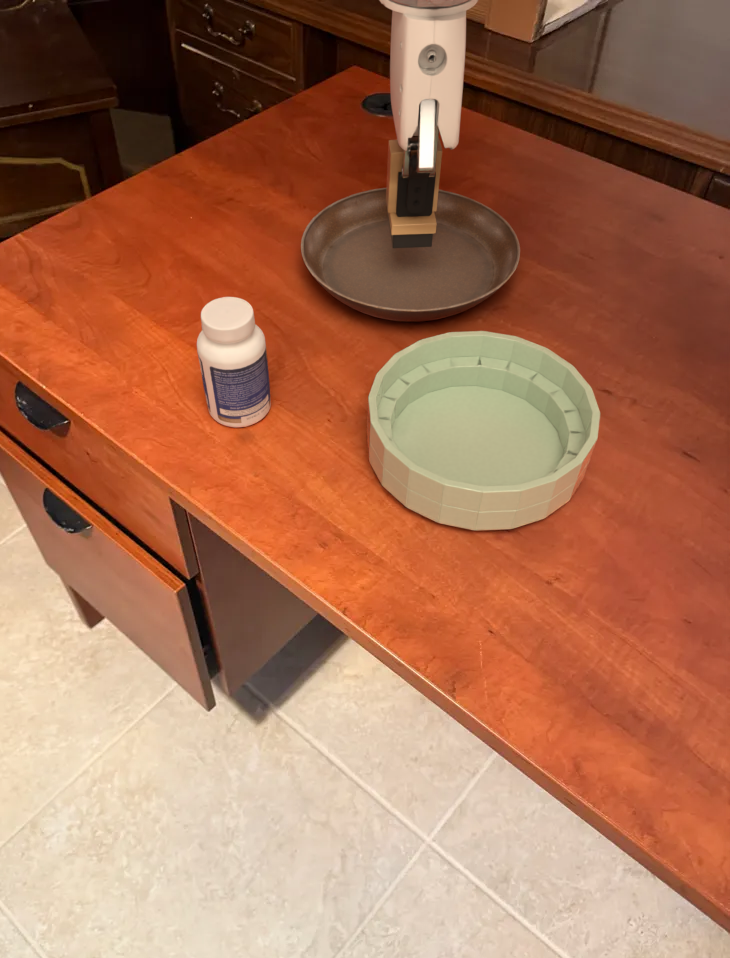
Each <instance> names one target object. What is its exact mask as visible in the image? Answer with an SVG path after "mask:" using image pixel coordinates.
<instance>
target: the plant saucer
mask: <svg viewBox="0 0 730 958" xmlns="http://www.w3.org/2000/svg"><path fill="white" fill-rule="evenodd" d="M386 188H387V187H381V188H374V189H373V188H372V189H368V190H365V191H360V192H356V193H353V194H351V195H348V196H345V197H342V198H341V199H338V200H336V201H334V202H333V203H331V204H329V205H327V206H326V207H324V208H323V209H322V210H321V211H319V212H318V213H317V214H316V215H315V216H313V217H312V219H311V220H310V221H309V223H308V224H307V225H306V227H305V229H304V231H303V233H302V236H301V240H300V241H301V242H300V252H301V257H302V259H303V263H304V264H305V266H306V268H307V270H308V271H309V273H310V274H311V276H313V278H314V280H315V281H316V282H317V283H318V284H319V286H321V288H323V289H324V290H325V291H326V292H327V293H328V294H329V295H331V296H332V297H334V298H335V299H336V300H338V301H339V302H341V303H342V304H343V305H346V306H347V307H349V308H351V309H353V310H355V311H357V312H360V313H363V314H366V315H369V316H372V317H375V318H379V319H383V320H389V321H395V322H426V321H435V320H440V319H444V318H448V317H451V316H455V315H457V314H461V313H463V312H466V311H467V310H471V309H472V308H474V307H476V306H477V305H479V304H481V303H482V302H484V301H485V300H487V299H488V298H490V297H491V296H493V295H494V294H495V293H496V292H498V291H499V290H500V289H501V288H502V287H503V286H504V285H505V284H506V283H507V282H508V281H509V280H510V278H511V277H512V276H513V275H514V273H515V272H516V269H517V268H518V265H519V261H520V259H521V258H520V256H521V247H520V246H521V245H520V241H519V238H518V236H517V234H516V232H515V230H514V229H513V228H512V225H510V223H509V222H508V221H507V220H506V219H505V218H504V217H503V216H502V215H501V214H500V213H498V212H497V211H495V210H494V209H492V208H491V207H489V206H488V205H485V204H483V203H481V202H480V201H478V200H475V199H473V198H470V197H468V196H465V195H462V194H459V193H456V192H453V191H448V190H443V189H439V190H438V200H437V210H436V211H434V214H435V218H436V223H437V225H436V233H434V234H433V239H432V247H415V248H393V247H392V240H391V234H390V227H389V220H388V210H387V203H386Z"/></svg>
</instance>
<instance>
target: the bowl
mask: <svg viewBox="0 0 730 958" xmlns="http://www.w3.org/2000/svg"><path fill="white" fill-rule="evenodd" d="M373 379H374V380H373V383H372V385H371V387H370V391H369V393H368V397H367V417H366V442H367V443H366V444H367V454H368V455H367V456H368V462H369V464H370V466H371V467H372V469H373V472H374V473H375V475H376V477H377V479H378V481H379V482H380V484H381V487H383V488H384V489H385V490H386V491H387V492H389V493H390V495H392V496H393V497H394V498H395V499H396V500H397V501H398V502H399V503H401V504H402V505H403V506H404V507H405V508H406V509H409V510H410V511H413V512H415V513H416V514H419V515H420V516H423V517H424V518H427V519H429V520H431V521H433V522H435V523H438V524H440V525H446V526H450V527H456V528H460V529H465V530H469V531H475V532H477V531H498V530H499V531H501V530H513V529H516V528H519V527H523V526H525V525H529V524H532V523H535V522H539V521H543V520H544V519H546V518H548V516H550V515H551V514H553V513H554V512H555V511H558V509H560V508H561V507H562V506H564V505H565V504H567V503H568V502H569V501H570V500H572V499H571V498H572V497H573V496H574V494H575V492H576V491H577V490H578V488H579V486H580V485H581V483H582V481H583V480H584V478H585V475H586V472H587V470H588V467H589V464H590V461H591V458H592V455H593V452H594V449H595V447H596V444H597V441H598V439H599V438H598V437H599V430H600V422H601V411H600V408H599V405H598V402H597V399H596V395H595V393H594V390H593V388H592V386H591V384H589V382H587V380H586V378H584V376H583V375H582V374H581V373H580V372H579V371H578V370H577V368H576V367H575V366H574V365H573V364H572V363H570V362H569V361H567V360H565V359H564V358H563V357H561V356H560V355H558V354H557V353H556V352H554V351H553V350H551V349H549V348H548V347H546V346H543V345H541V344H537V343H535V342H533V341H531V340H527V339H525V338H523V337H520V336H517V335H511V334H505V333H500V332H493V331H489V330H488V331H487V330H469V331H466V330H465V331H451V332H450V331H449V332H444V333H441V334H436V335H434V336H429V337H426V338H422V339H419V340H417V341H416V342H414V343H412V344H410V345H408V346H407V347H404V348H403V349H401V350H399V351H397V352H396V353H394V354H393V355H392V356H391V357H390V358H389V360H388V361H386V363H385V364H384V365H383V366H382V367H381V368H380V369H379V371H377V372H376V374H375V377H374V378H373Z"/></svg>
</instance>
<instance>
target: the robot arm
mask: <svg viewBox="0 0 730 958" xmlns="http://www.w3.org/2000/svg"><path fill="white" fill-rule="evenodd" d="M378 1H379V3H380V4H381V5H383V6H384V7H385V8H387V9H389V10H391V11H392V12H391V29H390V53H389V54H390V59H389V88H390V104H391V106H390V107H391V111H392V112H391V113H392V119H393V123H394V129H395V134H396V135H395V136H396V140H398V144H399V146H400V147H401V148H402V149H403V158H402V172H398V186H397V202H396V214H397V216H398V217H416V216H430V215H431V214H432V209H433V199H434V189H435V179H436V172H435V169H436V158H437V148H438V138H439V135H440V138H441V141H442V144H443V147H444V149H449V150H454V149H455V148H457V147H458V145H459V142H460V132H461V131H460V130H461V119H462V118H461V115H462V106H463V105H462V104H463V94H464V93H463V90H464V80H465V79H464V78H465V65H466V48H467V11H468V10H470V9H472V8H473V7H474V6H476V5H477V3H478V2H479V0H378ZM411 150H417V155H412V156H411V159H410V155H411Z"/></svg>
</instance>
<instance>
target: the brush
mask: <svg viewBox="0 0 730 958" xmlns="http://www.w3.org/2000/svg"><path fill="white" fill-rule="evenodd" d="M387 145H388V148H387V168H386V187H385V188H386V203H387V210H388V220H389V227H390V234H391V240H392V247H393V248H415V247H432V239H433V234H434V233H436V225H437V223H436V218H435V214H434V211H436V210H437V200H438V190H440V179H441V170H442V169H441V168H442V160H443V148H442V144H441V139H440V138H439V137H438V148H437V158H436V169H435V172H436V179H435V189H434V199H433V209H432V214H431V215H430V216H416V217H398V216H397V214H396V202H397V186H398V172H402V158H403V149H402V148H401V147H400V146H399V144H398V140H397V139H389V140H388V144H387ZM412 155H417V150H411V155H410V159H411V156H412Z"/></svg>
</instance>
